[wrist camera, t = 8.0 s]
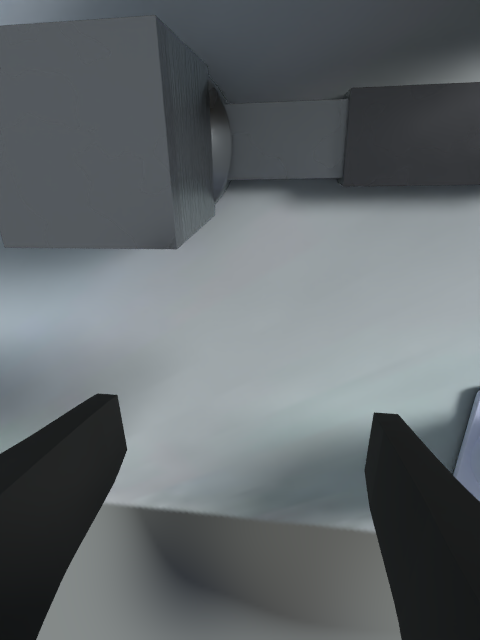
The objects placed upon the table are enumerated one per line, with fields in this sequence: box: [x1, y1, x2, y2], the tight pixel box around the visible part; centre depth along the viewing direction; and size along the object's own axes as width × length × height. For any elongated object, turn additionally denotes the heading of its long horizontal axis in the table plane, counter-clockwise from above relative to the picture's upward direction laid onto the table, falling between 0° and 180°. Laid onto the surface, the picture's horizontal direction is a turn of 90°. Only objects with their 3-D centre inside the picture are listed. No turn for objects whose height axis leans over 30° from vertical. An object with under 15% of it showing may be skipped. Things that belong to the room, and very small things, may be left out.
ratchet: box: [208, 76, 480, 204], centre depth 14 cm, size 20×7×4 cm, turn 91°
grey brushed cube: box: [0, 15, 215, 249], centre depth 13 cm, size 5×5×6 cm
